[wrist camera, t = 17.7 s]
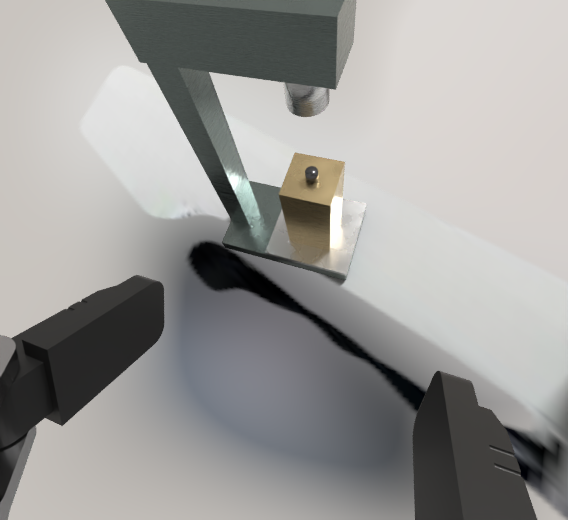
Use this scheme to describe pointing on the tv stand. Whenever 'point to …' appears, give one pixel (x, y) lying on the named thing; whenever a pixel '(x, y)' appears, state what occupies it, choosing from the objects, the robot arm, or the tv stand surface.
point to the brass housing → (312, 200)
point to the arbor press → (254, 64)
